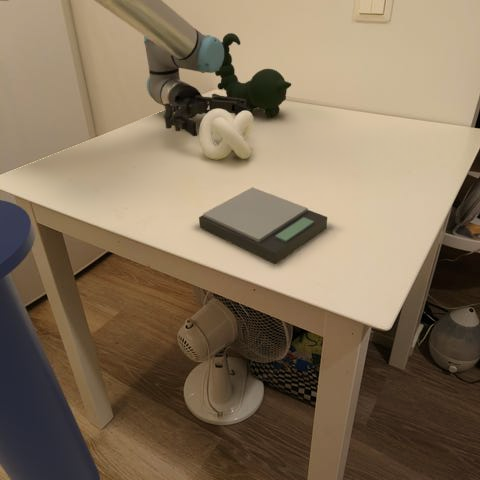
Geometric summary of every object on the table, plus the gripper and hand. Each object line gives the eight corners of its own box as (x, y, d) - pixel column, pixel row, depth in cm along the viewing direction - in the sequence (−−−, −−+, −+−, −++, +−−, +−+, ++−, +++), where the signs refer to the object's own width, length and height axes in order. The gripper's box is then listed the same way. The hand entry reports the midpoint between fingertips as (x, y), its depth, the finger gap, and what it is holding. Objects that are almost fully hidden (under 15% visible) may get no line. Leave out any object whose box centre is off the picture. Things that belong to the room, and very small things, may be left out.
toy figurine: (212, 113, 124) (279, 125, 108) (202, 36, 114) (274, 36, 98) (237, 105, 129) (304, 115, 113) (229, 30, 119) (302, 29, 103)
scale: (199, 227, 74) (198, 213, 72) (252, 198, 81) (252, 185, 80) (275, 264, 65) (275, 249, 64) (326, 227, 72) (327, 213, 71)
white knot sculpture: (228, 140, 104) (225, 99, 98) (269, 151, 98) (269, 109, 92) (193, 156, 97) (189, 114, 92) (236, 169, 91) (234, 125, 86)
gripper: (227, 105, 118) (272, 128, 103) (136, 125, 108) (172, 153, 94) (225, 74, 113) (272, 93, 98) (130, 92, 104) (167, 116, 89)
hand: (223, 122), depth 96 cm, fingers open, 13 cm apart
